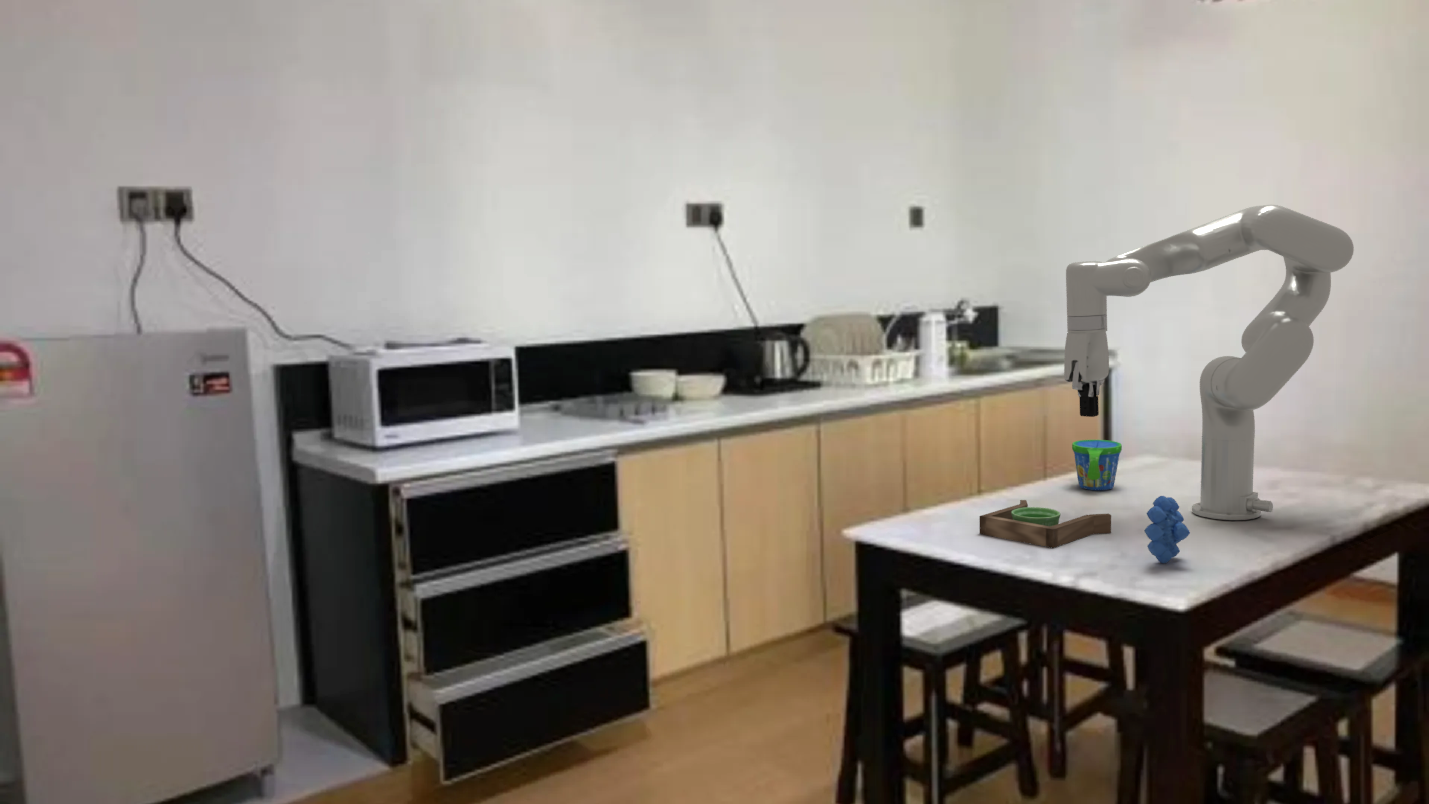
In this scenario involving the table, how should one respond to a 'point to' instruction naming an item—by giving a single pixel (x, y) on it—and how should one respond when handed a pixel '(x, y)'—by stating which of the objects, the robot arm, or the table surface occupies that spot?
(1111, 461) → the snack cup
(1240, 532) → the table surface
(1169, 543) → the grapes
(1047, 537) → the walnut holder
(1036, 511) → the ramekin
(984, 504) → the table surface
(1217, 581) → the table surface
